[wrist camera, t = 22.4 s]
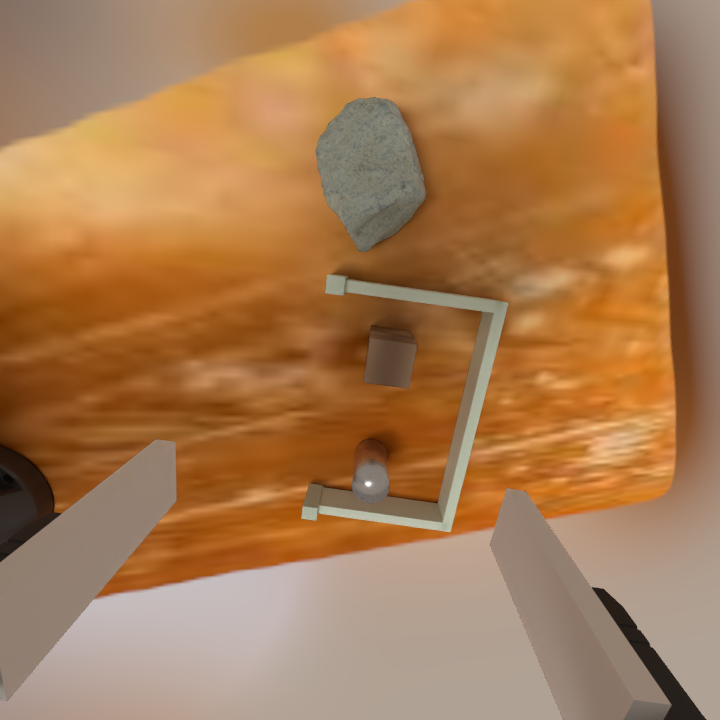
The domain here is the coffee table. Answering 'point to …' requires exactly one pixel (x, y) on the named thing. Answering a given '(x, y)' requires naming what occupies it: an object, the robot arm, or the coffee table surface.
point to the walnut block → (390, 357)
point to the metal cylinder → (370, 472)
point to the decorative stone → (370, 170)
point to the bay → (465, 429)
